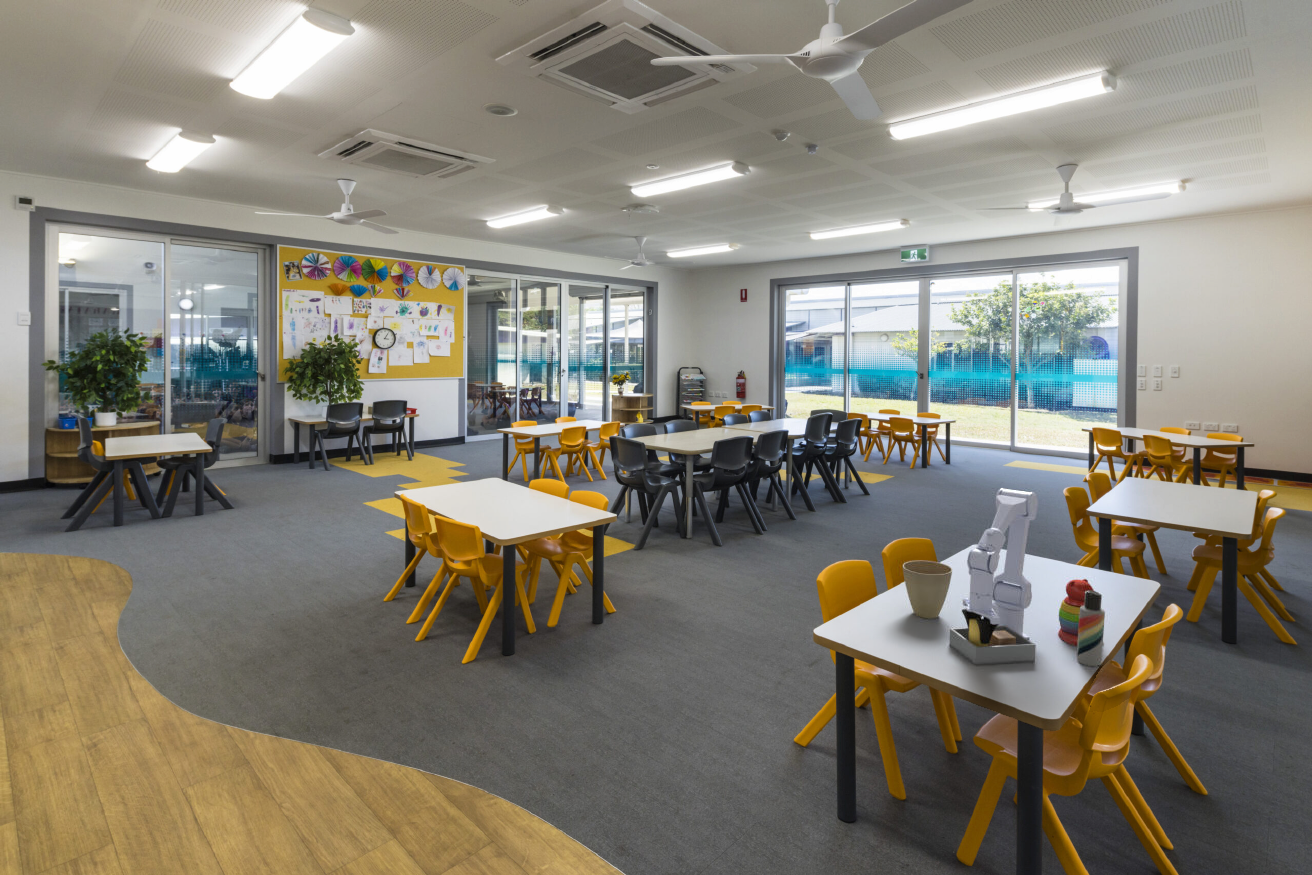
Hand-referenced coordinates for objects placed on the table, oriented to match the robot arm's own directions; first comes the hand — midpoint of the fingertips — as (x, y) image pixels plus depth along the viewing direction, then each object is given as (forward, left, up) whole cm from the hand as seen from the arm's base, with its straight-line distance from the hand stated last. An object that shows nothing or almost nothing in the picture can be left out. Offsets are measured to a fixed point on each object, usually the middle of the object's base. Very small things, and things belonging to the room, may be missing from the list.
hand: (979, 639), depth 187 cm
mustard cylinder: (0, 0, -2) cm, 2 cm away
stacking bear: (-7, +35, -5) cm, 36 cm away
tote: (-1, +4, -5) cm, 6 cm away
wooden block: (0, +7, -4) cm, 8 cm away
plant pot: (-30, 0, -5) cm, 30 cm away
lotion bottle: (+8, +27, -5) cm, 29 cm away
